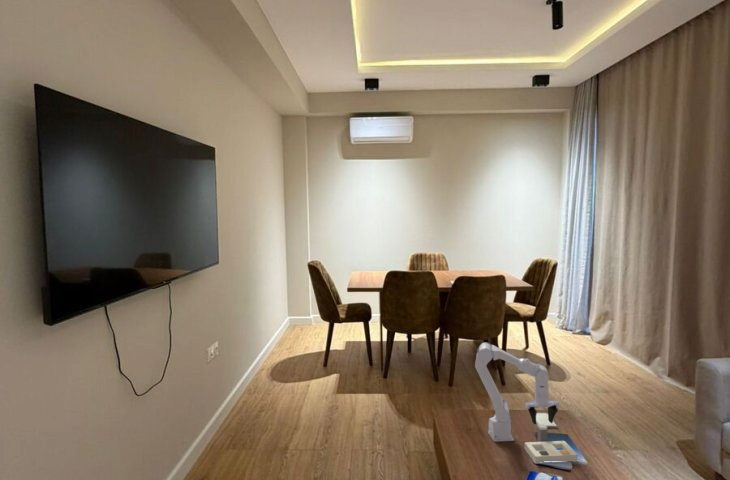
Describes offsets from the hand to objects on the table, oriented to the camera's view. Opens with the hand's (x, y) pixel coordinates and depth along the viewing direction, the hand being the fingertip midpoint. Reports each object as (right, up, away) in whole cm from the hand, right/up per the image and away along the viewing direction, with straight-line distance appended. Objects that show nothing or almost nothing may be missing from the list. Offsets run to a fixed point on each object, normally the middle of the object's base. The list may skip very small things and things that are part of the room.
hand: (542, 422), depth 171 cm
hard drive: (+10, -9, +19) cm, 23 cm away
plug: (0, -10, 0) cm, 10 cm away
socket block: (-1, -10, -9) cm, 13 cm away
